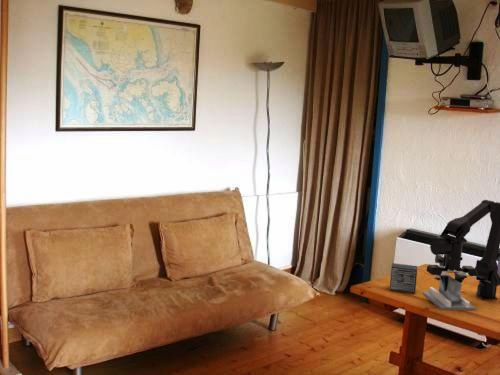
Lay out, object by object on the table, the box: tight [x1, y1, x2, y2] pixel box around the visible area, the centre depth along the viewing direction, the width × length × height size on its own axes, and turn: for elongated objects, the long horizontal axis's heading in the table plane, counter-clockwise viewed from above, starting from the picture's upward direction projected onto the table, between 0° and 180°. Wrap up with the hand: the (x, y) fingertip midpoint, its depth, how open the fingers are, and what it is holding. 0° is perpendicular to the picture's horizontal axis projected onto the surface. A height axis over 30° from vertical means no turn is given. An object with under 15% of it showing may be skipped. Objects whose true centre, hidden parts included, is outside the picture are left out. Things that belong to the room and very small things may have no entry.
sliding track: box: [422, 286, 476, 311], centre depth 244 cm, size 14×18×3 cm
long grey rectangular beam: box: [438, 274, 462, 301], centre depth 243 cm, size 4×12×7 cm, turn 6°
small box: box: [388, 262, 418, 294], centre depth 255 cm, size 11×6×10 cm, turn 74°
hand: (449, 291), depth 243 cm, fingers closed on long grey rectangular beam, 3 cm apart
